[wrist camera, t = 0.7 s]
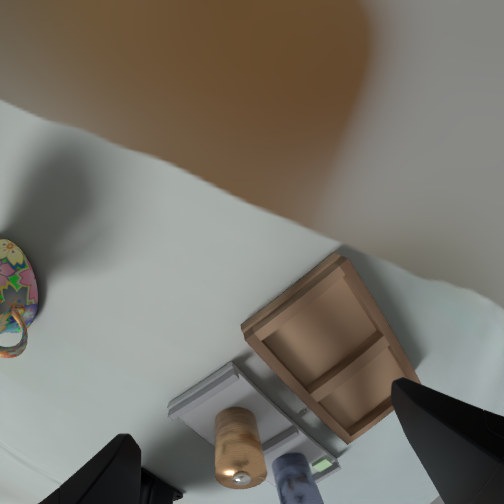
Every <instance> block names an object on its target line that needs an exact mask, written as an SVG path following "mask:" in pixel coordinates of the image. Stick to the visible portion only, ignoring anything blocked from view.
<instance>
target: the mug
mask: <svg viewBox="0 0 504 504" xmlns="http://www.w3.org/2000/svg"><path fill="white" fill-rule="evenodd" d="M37 306H38V291H37V284H36V279H35V276H34V272H33V270H32V267H31V265H30V263H29V261H28V259H27V258H26V256H25V255H24V253H23V252H22V251H21V249H20V248H19V247H18V246H17V245H15V244H14V243H13V242H11V241H9V240H7V239H3V238H0V334H2V333H5V332H11V333H18V332H22V339H21V341H20V342H19V343H18V344H17V345H15V346H12V347H2V346H0V357H3V358H13V357H17V356H19V355H20V354H21V353H22V352H23V351H24V350H25V348H26V345H27V338H28V335H27V328H28V327H29V326H30V325H31V323H32V322H33V320H34V318H35V315H36V312H37Z"/></svg>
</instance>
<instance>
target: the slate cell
mask: <svg viewBox="0 0 504 504" xmlns="http://www.w3.org/2000/svg"><path fill="white" fill-rule="evenodd" d="M272 471H273V475H274V479H275V483H276V487H277V491H278V495H279V499H280V504H324V503H323V500H322V498H321V495H320V492H319V490H318V487H317V485H316V482H315V479H314V477H313V474H312V472H311V469H310V466H309V464H308V461H307V458H306V456H305V455H303V454H301V453H287V454H284V455H281V456H279V457H278V458H276V459H275V460H274V461H273V463H272Z"/></svg>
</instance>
